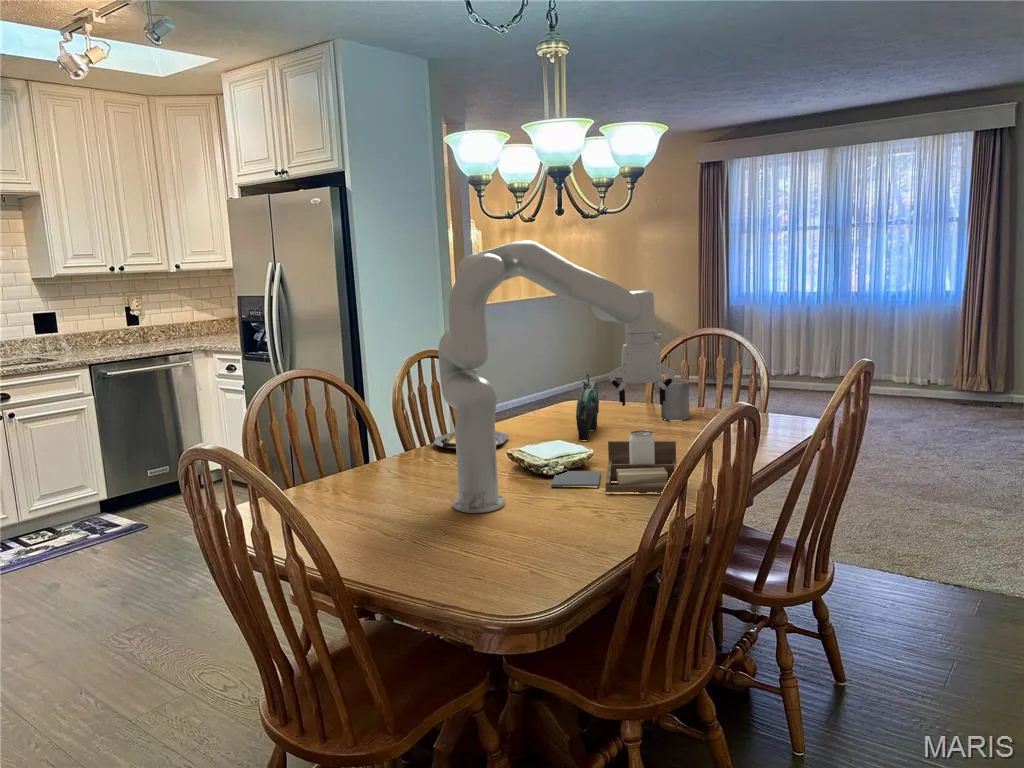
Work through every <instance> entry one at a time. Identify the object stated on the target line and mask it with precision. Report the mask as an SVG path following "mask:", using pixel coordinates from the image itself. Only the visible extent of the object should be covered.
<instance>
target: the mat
mask: <svg viewBox="0 0 1024 768" xmlns="http://www.w3.org/2000/svg"><path fill="white" fill-rule="evenodd" d="M566 471H567V472H565V473H562V474H559V475H555V474H554V477H553V479H552V481H551V487H558V486H559V487H563V486H599V487H600V483H599V480H600V481H601V477H600V474H601V475H602V473H601V470H566Z"/></svg>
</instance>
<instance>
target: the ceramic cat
mask: <svg viewBox="0 0 1024 768" xmlns="http://www.w3.org/2000/svg"><path fill="white" fill-rule="evenodd" d="M584 378H585V380H584V381H582V382H581V383H582V384H581V388H580V389H581V390H580V392H579V394H578V396H577V397H578V398H577V402H576V414H575V420H576V428H577V433H578V435H577V436H578V441H579V440H588V439H589V440H590V434H591V433H590V432H591V431H590V430H596V431H597V429H598V414H599V411H600V408H599V407H600V399H599V387H598V383H597V381H596V380H590V375H589V374H588V373H585V374H584ZM596 428H597V429H596Z"/></svg>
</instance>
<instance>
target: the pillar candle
mask: <svg viewBox="0 0 1024 768" xmlns="http://www.w3.org/2000/svg"><path fill="white" fill-rule="evenodd" d="M667 379H668V378H666V379H661V380H662V381H663V382H665V381H666V380H667ZM660 409H661V410H660V411H661V414H660V415H661V416H660V417H661V418H663V419H666V420H686V419H688V420H690V380H689V379H684V378H679V377H678V378H676V377H674V379H673V380H672V383H671V384H670V385H669V386H668V387H667V388H666V389H665V401H663V405H661V404H660ZM686 421H687V420H686Z"/></svg>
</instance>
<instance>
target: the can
mask: <svg viewBox="0 0 1024 768" xmlns="http://www.w3.org/2000/svg"><path fill="white" fill-rule="evenodd" d="M628 439H629V440H628V441H629V452H630V464H655V451H654V441H655V437H654V435H653V431H650V430H645V429H642V430H633V431H631V432H630V436H629V438H628Z"/></svg>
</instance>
